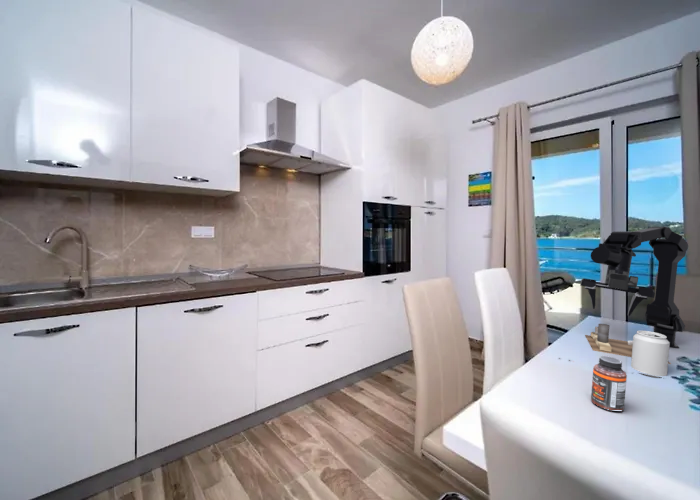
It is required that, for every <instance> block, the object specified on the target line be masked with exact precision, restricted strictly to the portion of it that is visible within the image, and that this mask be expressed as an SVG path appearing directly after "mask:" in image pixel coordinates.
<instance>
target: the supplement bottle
mask: <svg viewBox="0 0 700 500" xmlns="http://www.w3.org/2000/svg"><path fill="white" fill-rule="evenodd" d="M622 367H623V362H622V361H621V360H620V359H619V358H616V357H612V356H608V355H607V356H606V355H602V356H601V355H600V356H599V358H598V363H597V364H594V366H593V369H592V370H593V371H592V380H591V381H592V384H591V393H590V397H591V398H590V400H591V402H592V403H593V404H594V405H595V404H596V405H597V406H596V405H595V406H596V407H598V406H600V407H602V408H605V409H609V410H623V409H624V410H625V402H626V401H625V400H626V392H627V391H626V388H627V377H628V375H627V373H626V371H625V370H623V368H622ZM600 407H599V408H600ZM602 408H601V409H602ZM624 410H623V411H624Z"/></svg>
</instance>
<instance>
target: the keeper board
mask: <svg viewBox="0 0 700 500" xmlns="http://www.w3.org/2000/svg"><path fill="white" fill-rule="evenodd" d="M584 336H585V338H586V340H587V342H588V344H589V347H590V348H591V350H592V351H594V352H599V353H600V352H601V353H604V354H605V353H606V354H611V355H616V356H623V357H628V358H632V347H633V339H632V340H628V341H626V340H621V339H615V338H609V339H608V343H609V344H610V346H611V347H612V349H611V352H610V351H604V350H600V349H599V348H598V346H597V344H596V342H595V341H594V339H593V338H592V337H591V335H589V334H584ZM671 364H672V363H671V362H670V361H669V360H668V365H671Z"/></svg>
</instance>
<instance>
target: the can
mask: <svg viewBox="0 0 700 500" xmlns="http://www.w3.org/2000/svg"><path fill="white" fill-rule="evenodd" d="M666 338H667V337H666V336H665V335H662V334H659V333H655V332H654V331H648V330H637V331H636V333H635V334H633V337H632V340H633V347H632V357H631V362H630V366H631V369H633V370H636V371H638V374H639V375H641V376H645V377H647V378H653V379H662V378H663V377H666V376H668V370H669V368H668V367H669V364H668V361H669V359H670V358H669V357H670V347H669V346H670V342H669V341H668V340H667V339H666Z"/></svg>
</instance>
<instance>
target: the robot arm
mask: <svg viewBox="0 0 700 500" xmlns="http://www.w3.org/2000/svg"><path fill="white" fill-rule="evenodd" d="M645 242H648V245H649V246H650V247H651V248H652V251H653V252H652V253H653V256H654V257H655V259H656V261H658V263H657V265H658V266H657V274H656V275H657V276H656V283H655V290H654V289H653V288H649V287H641V286H638V283H639V277H638V276H635V275H630V270H631V266H632V265H631V264H632V259H633V257H636V254H637V253H635V251H633V249H636V248H638V247H640V246H641V245H642V243H645ZM688 244H689V243H688V242H687V240H686V239H685V238H684V237H683V236H682V235H680V234H679V233H676V232H674V231H672V229H671V228H670V227H669V226H651V227H648V228H644V229H638V230H634V231H631V230H630V231H624V230H623V231H622V230H621V231H612V232H611V233H610V235H609V236H607V238H606V239H605V240H604V241H603V242H602V243H599V244H598V246H597V247H595V248H594V249H592V251H591V253H590V259H591V261H593V262H594V263H595V264H601V265H603V266H604V265H605V266H607V269H606V274H605V281H604V282H598V281H597V280H596V279H589V278H585V277H584V278H582V279H581V280H580V283H579V284H580V286H581V287H584V289H586V290H587V291H588V294H589V297H590V301H591V306H592V307H591V308H592V309H593V310H596V309H595V308H596V292H597V289H595V288H601V289H607V290H612V291H613V290H614V291H619V292H626V293H630V294H631V293H632V294H634V295H632V298H631V301H630V304H629V307H628V311H627V316H628V317H630V316H631V315H632V314H633V312H634V311H635V309H636V308H637V306H638V305H639V304H640V303H641V302H642V301H643V300H649V298H651V299H652V298H653V299H654V300H652V302H650V303H647V305H646V310H645V320H646V321H645V322H646V325H647V326H651V327H653V332H655V333H659V334H662V335H665V336H666V337H667V338H666V339H667V340H668V341H669V342H670V346H669V348H670V347H671V348H677V349H679V348H680V346H679V345H677V344H676V335H677V332H679V333H683V332H684V330H685V328H686V324H685V323H684V321H683V320H682V318H681V316H680V309H679V308H678V306H677V305H676V303H675V302H674V299H675V293H676V284H677V283H676V282H677V275H678V274H677V273H678V272H677V271H678V264H679V262H680V261H681V260H683V259H684V257H686V254H687V251H688V248H689V245H688Z"/></svg>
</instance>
